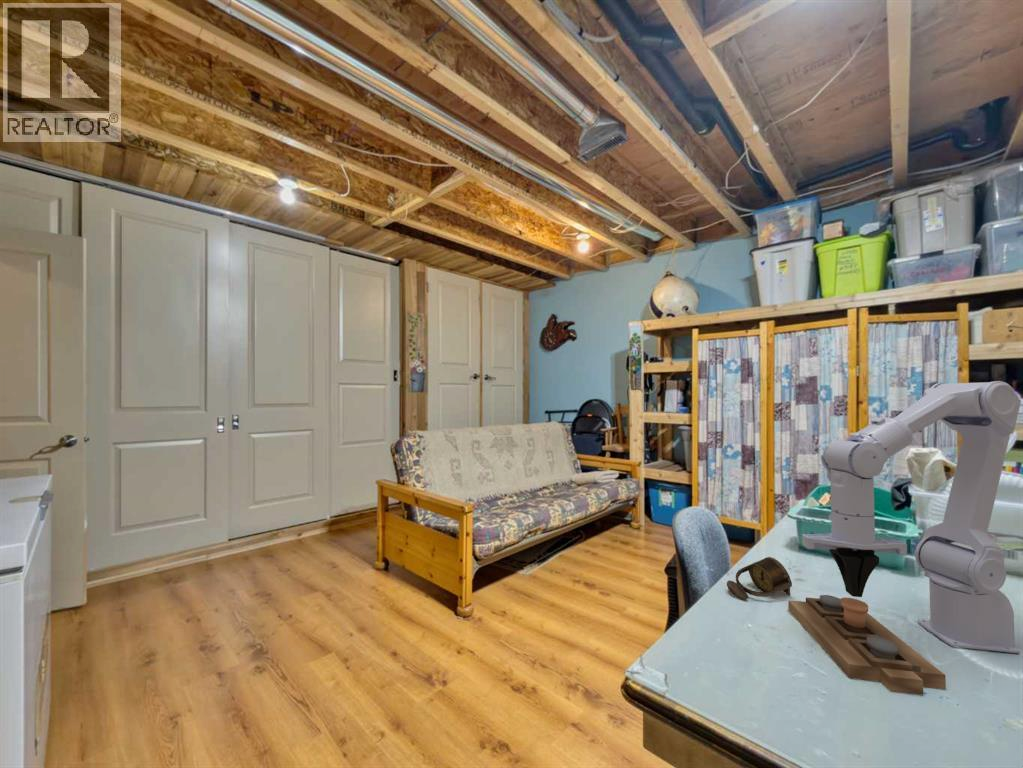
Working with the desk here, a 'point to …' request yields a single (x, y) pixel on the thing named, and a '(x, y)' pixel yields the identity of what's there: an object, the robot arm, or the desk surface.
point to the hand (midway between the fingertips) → (853, 594)
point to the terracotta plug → (854, 612)
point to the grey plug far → (831, 603)
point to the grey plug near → (882, 647)
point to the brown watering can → (762, 579)
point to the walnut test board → (866, 650)
